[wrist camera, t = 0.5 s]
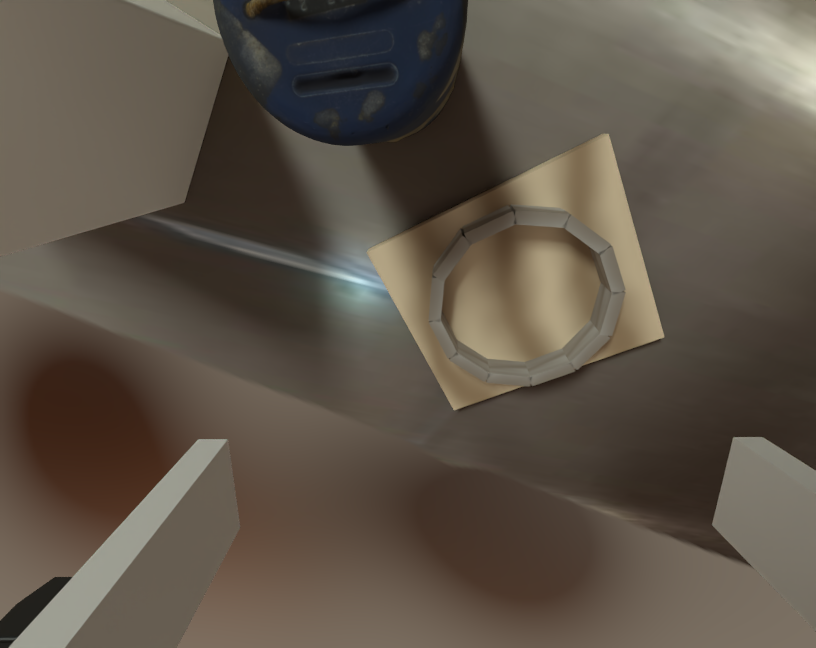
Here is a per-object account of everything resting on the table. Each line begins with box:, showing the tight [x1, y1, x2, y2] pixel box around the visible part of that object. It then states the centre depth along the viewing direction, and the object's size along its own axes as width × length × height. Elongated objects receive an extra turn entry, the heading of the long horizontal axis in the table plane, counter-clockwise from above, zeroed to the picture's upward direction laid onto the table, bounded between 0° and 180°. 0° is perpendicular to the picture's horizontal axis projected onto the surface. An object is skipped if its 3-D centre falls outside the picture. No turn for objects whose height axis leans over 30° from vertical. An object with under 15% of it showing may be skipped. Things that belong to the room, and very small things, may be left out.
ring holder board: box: [367, 134, 664, 410], centre depth 34 cm, size 20×18×4 cm
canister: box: [213, 0, 468, 146], centre depth 21 cm, size 10×10×18 cm
